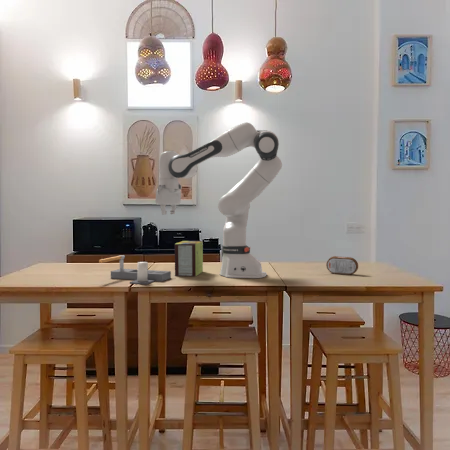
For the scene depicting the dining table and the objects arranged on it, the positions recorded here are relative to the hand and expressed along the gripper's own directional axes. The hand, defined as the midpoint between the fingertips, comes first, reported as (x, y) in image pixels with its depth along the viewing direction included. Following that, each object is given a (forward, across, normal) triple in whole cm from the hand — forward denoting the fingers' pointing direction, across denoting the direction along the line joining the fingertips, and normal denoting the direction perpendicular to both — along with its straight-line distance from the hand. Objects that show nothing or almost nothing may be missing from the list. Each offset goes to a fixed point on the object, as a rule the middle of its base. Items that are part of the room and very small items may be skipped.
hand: (168, 214), depth 208 cm
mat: (+29, -22, +2) cm, 36 cm away
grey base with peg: (+29, -13, +8) cm, 33 cm away
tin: (+29, +29, -79) cm, 89 cm away
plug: (+28, -22, +2) cm, 36 cm away
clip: (+20, -20, +18) cm, 34 cm away
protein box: (+29, +6, -8) cm, 31 cm away
